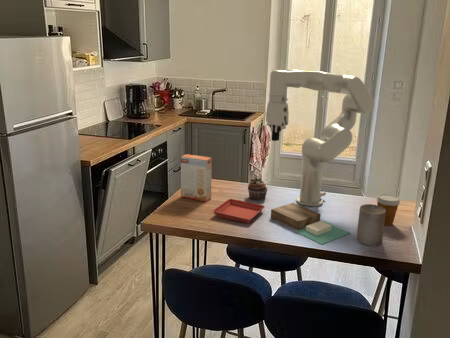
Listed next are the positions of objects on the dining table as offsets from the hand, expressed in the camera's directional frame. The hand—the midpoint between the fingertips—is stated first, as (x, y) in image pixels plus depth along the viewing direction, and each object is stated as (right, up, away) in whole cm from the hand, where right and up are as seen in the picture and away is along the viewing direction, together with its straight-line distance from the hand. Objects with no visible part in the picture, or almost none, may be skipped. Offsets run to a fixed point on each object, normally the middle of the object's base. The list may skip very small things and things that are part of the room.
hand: (275, 140), depth 194 cm
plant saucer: (-16, -34, 0) cm, 37 cm away
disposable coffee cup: (+47, -37, -5) cm, 60 cm away
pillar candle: (+34, -42, -22) cm, 58 cm away
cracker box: (-37, -27, +19) cm, 49 cm away
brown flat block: (+8, -35, -5) cm, 36 cm away
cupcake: (-7, -27, +21) cm, 35 cm away
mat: (+18, -39, -16) cm, 46 cm away
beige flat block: (+16, -36, -16) cm, 43 cm away
